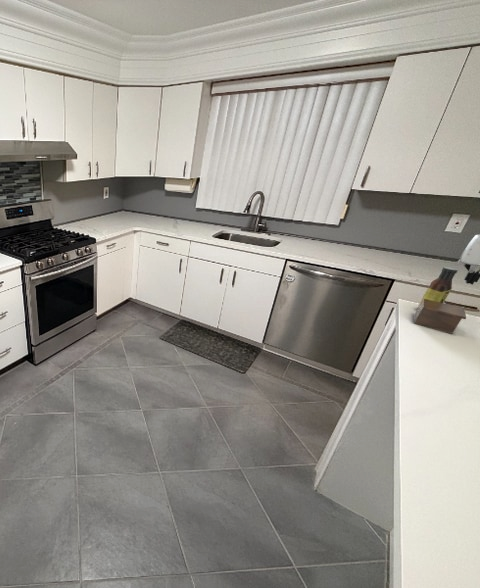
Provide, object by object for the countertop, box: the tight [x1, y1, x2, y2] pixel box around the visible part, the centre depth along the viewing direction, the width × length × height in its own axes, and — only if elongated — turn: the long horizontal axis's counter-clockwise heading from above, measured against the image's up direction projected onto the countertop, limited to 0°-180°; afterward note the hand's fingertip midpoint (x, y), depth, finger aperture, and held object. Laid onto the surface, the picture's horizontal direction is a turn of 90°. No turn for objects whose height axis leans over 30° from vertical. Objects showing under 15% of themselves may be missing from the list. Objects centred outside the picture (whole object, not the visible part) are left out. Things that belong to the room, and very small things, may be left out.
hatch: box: [423, 299, 467, 320], centre depth 119 cm, size 11×10×1 cm
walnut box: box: [413, 301, 463, 335], centre depth 121 cm, size 10×10×7 cm
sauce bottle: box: [416, 266, 459, 311], centre depth 127 cm, size 7×6×20 cm
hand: (469, 282), depth 113 cm, fingers closed
